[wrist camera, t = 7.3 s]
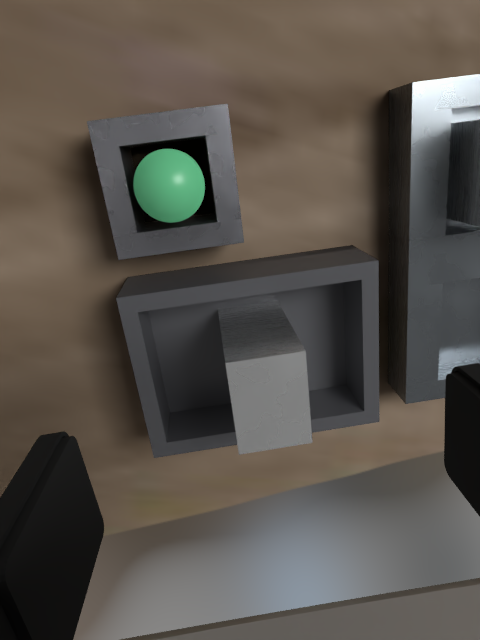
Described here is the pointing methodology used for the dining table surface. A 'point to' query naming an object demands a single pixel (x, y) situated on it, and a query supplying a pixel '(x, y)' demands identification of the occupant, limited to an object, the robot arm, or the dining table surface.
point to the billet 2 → (464, 173)
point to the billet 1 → (265, 377)
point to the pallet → (429, 242)
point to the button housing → (118, 174)
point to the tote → (207, 348)
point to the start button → (169, 185)
